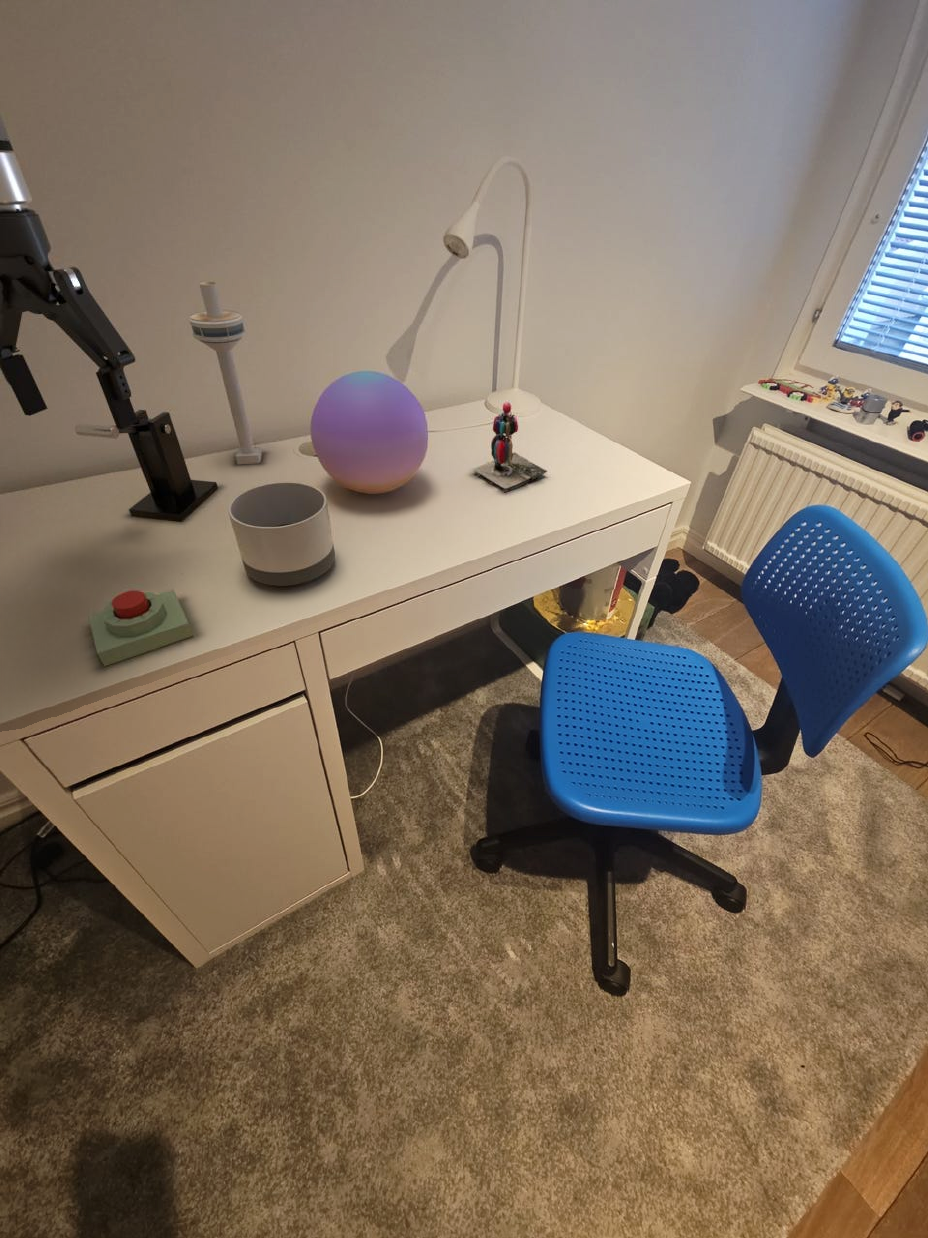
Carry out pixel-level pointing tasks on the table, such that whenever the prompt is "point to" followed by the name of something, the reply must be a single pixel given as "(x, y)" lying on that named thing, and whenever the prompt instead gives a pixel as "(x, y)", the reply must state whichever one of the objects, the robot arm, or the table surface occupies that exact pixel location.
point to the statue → (507, 456)
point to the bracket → (166, 473)
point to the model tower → (226, 361)
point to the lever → (113, 429)
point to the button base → (139, 628)
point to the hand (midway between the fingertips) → (81, 418)
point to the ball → (369, 432)
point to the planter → (283, 532)
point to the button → (130, 604)
